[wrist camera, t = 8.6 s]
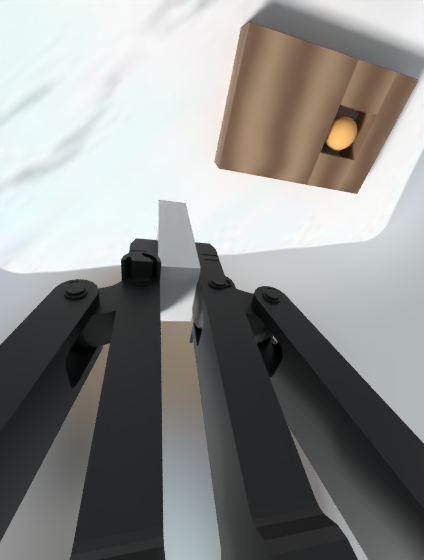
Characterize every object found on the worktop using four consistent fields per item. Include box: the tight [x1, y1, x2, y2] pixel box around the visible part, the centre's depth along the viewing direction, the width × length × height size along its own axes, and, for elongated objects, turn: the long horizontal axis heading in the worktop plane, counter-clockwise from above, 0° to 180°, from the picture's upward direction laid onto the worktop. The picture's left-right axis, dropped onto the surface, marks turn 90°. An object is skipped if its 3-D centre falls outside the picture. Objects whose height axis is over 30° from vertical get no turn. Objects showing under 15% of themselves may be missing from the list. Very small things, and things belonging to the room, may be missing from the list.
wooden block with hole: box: [215, 22, 418, 194], centre depth 33 cm, size 22×14×4 cm, turn 78°
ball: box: [325, 117, 357, 150], centre depth 35 cm, size 4×4×4 cm
